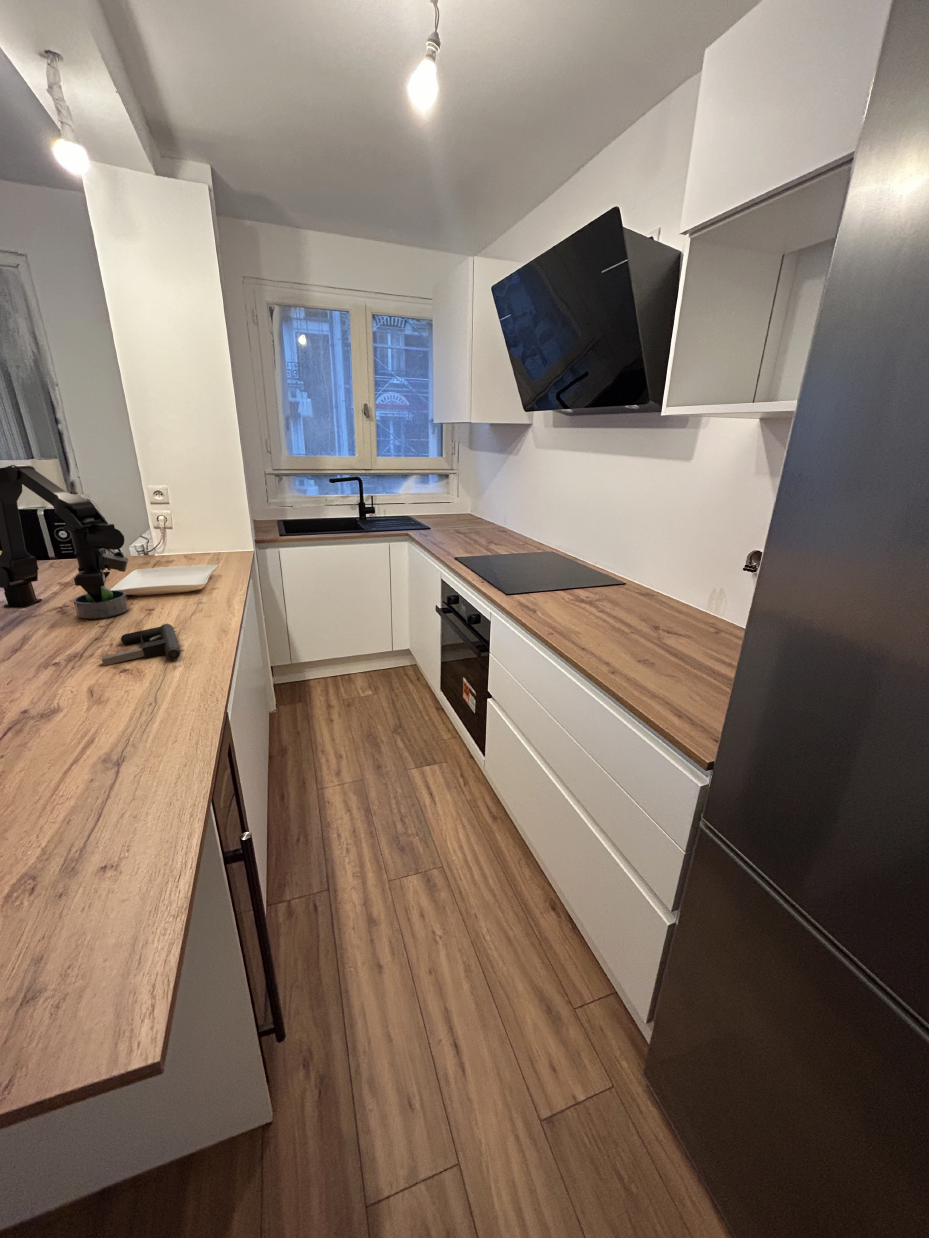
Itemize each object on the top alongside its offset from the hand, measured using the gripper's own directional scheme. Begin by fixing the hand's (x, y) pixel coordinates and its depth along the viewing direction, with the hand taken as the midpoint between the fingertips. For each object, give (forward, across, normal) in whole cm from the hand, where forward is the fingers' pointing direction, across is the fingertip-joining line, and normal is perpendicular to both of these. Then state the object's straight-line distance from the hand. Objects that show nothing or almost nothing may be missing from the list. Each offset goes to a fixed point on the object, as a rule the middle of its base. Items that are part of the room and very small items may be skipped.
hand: (101, 601), depth 139 cm
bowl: (+4, 0, 0) cm, 4 cm away
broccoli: (+3, 0, 0) cm, 3 cm away
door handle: (+4, -36, -12) cm, 38 cm away
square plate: (+4, +23, -16) cm, 29 cm away
